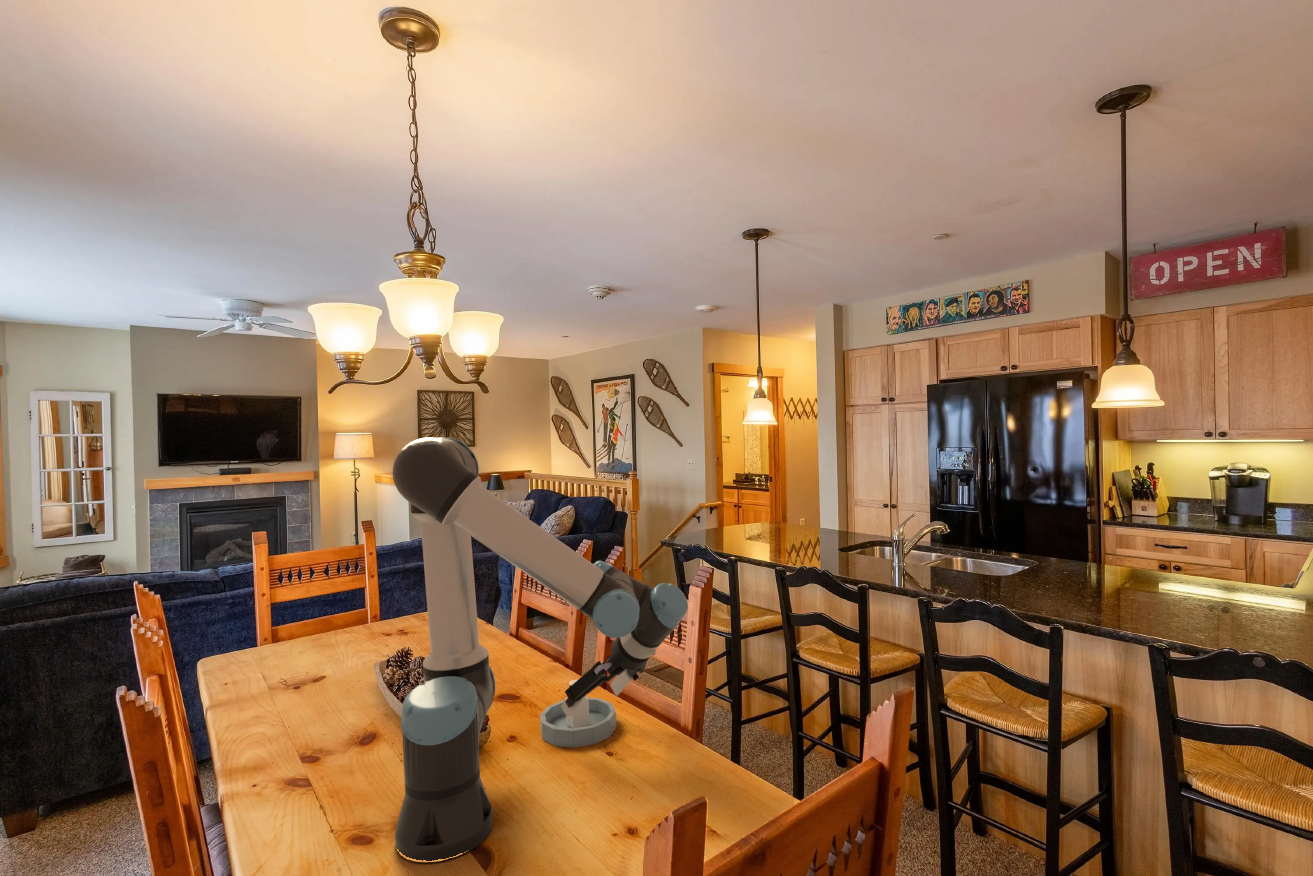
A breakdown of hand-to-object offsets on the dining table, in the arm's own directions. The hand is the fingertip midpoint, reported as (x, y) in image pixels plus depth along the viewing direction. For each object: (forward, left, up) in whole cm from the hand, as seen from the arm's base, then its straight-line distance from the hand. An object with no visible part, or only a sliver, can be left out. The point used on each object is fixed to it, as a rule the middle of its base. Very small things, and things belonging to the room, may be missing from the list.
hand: (590, 700), depth 135 cm
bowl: (0, +4, -7) cm, 8 cm away
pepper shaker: (-1, +4, -7) cm, 8 cm away
